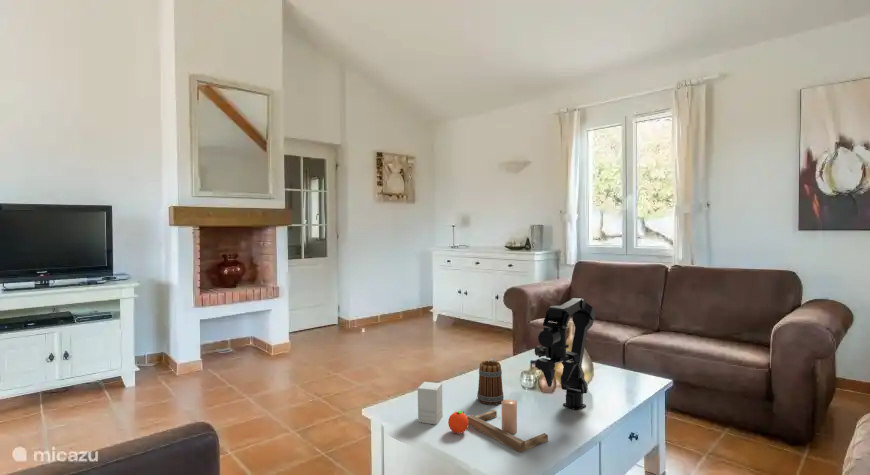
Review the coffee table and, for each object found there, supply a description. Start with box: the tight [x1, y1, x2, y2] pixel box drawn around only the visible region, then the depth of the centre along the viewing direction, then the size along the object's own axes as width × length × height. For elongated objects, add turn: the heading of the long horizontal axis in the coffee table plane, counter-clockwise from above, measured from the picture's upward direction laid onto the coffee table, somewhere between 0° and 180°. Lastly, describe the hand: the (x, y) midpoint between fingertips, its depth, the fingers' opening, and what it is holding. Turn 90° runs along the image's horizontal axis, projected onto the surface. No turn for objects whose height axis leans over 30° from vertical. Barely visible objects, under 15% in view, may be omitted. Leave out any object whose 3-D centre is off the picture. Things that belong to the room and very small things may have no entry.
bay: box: [466, 409, 549, 453], centre depth 160 cm, size 13×26×3 cm, turn 36°
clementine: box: [448, 410, 469, 434], centre depth 160 cm, size 8×7×7 cm
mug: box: [477, 357, 504, 406], centre depth 191 cm, size 16×11×15 cm
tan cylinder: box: [501, 399, 518, 435], centre depth 161 cm, size 5×5×10 cm
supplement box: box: [417, 381, 444, 425], centre depth 170 cm, size 7×7×13 cm
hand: (557, 383), depth 170 cm, fingers open, 9 cm apart
